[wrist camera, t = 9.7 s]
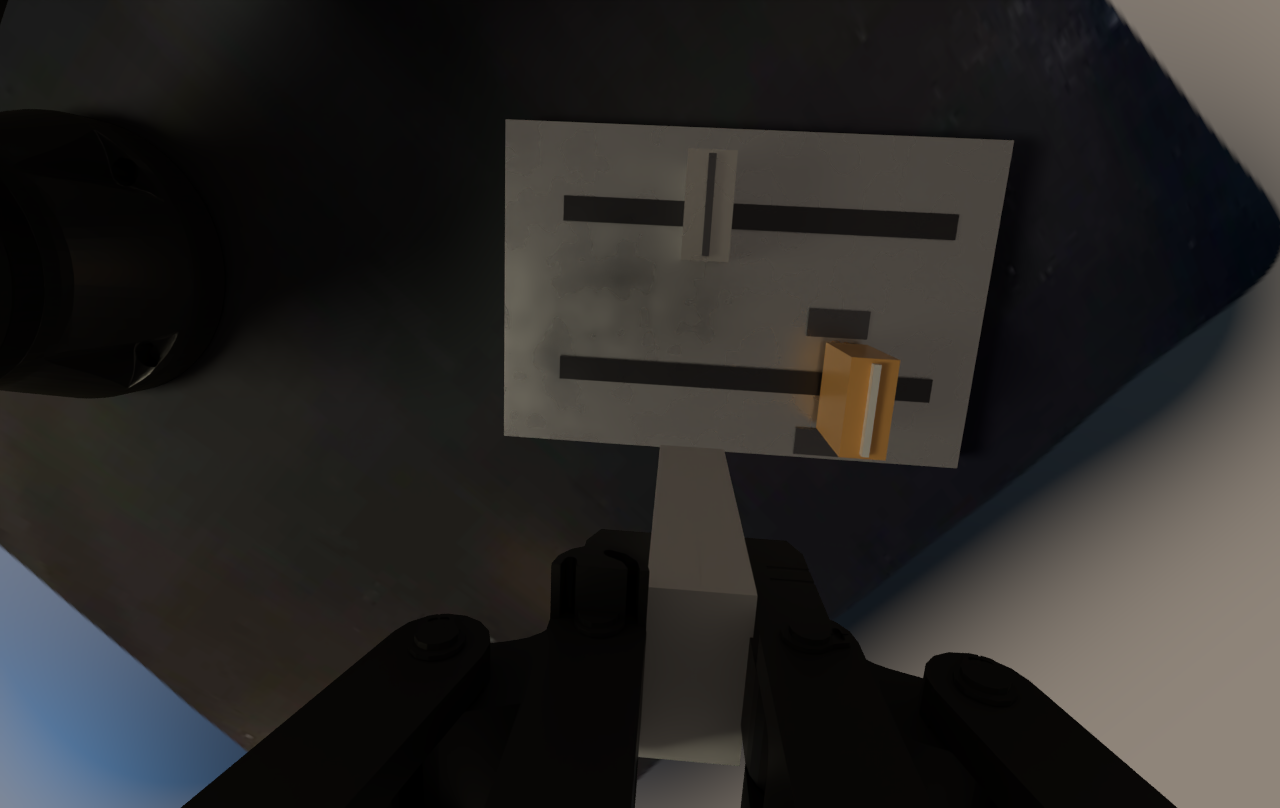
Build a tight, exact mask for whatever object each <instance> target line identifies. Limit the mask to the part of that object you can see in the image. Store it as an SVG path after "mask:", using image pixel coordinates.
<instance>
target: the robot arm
mask: <svg viewBox="0 0 1280 808" xmlns="http://www.w3.org/2000/svg"><path fill="white" fill-rule="evenodd" d="M7 2H8V0H0V24H1V21H2V18H3V14H4V11H5V8H6V5H7ZM224 292H225V272H224V262H223V256H222V250H221V246H220V242H219V238H218V235H217V232H216V229H215V226H214V224H213V222H212V219H211V217H210V215H209V213H208V211H207V208H206V206H205V205H204V203H203V201H202V199H201V198H200V196H199V194H198V193H197V191H196V190H195V188H194V187H193V185H192V184H191V183H190V181H189V180H188V179H187V178H186V176H185V175H184V174H183V173H182V172H181V170H180V169H179V168H178V167H177V166H176V165H175V164H174V163H173V162H172V161H171V160H170V159H169V158H168V157H166V156H165V155H164V154H163V153H162V152H161V151H159V150H158V149H157V148H156V147H154V146H153V145H151V144H150V143H149V142H147V141H146V140H144V139H142V138H141V137H139V136H137V135H136V134H134V133H132V132H130V131H128V130H126V129H123V128H121V127H118V126H116V125H113V124H110V123H107V122H103V121H99V120H95V119H91V118H86V117H82V116H78V115H74V114H69V113H65V112H60V111H53V110H41V109H22V110H11V111H3V112H0V390H1V391H11V392H22V393H32V394H42V395H52V396H63V397H73V398H106V397H114V396H119V395H123V394H128V393H132V392H136V391H140V390H145V389H149V388H152V387H156V386H159V385H161V384H164V383H166V382H168V381H170V380H172V379H174V378H175V377H177V376H179V375H180V374H182V373H183V372H184V371H186V370H187V369H188V368H189V367H190V366H191V365H192V364H194V362H195V361H196V360H197V359H198V358H199V357H200V356H201V354H202V353H203V352H204V350H205V349H206V347H207V346H208V344H209V343H210V341H211V339H212V337H213V335H214V333H215V330H216V328H217V326H218V322H219V319H220V316H221V312H222V308H223V301H224ZM808 570H809V569H808V567H807V564H806V562H805V559H804V557H803V554H801V553H800V552H799V551H798V550H797V549H795V548H794V547H793V546H792V545H790V544H789V543H788V542H787V541H780V540H767V539H753V538H744V535H743V530H742V526H741V522H740V517H739V513H738V509H737V504H736V500H735V496H734V491H733V487H732V483H731V478H730V474H729V470H728V465H727V461H726V457H725V452H724V449H713V448H698V447H684V446H669V445H660V453H659V463H658V473H657V483H656V493H655V503H654V513H653V523H652V533H645V532H632V531H619V530H605V529H601V530H600V531H598V532H597V533H596V534H594V535H593V536H592V537H590V538H589V539H588V540H587V541H586V544H585V546H584V547H579V548H574V549H571V550H569V551H566V552H564V553H562V554H560V555H559V556H558V557H557V558H556V559H555V560H554V561H553V563H552V566H551V613H550V621H549V624H548V627H547V630H545V631H543V632H542V633H539V634H537V635H534V636H531V637H528V638H524V639H519V640H513V641H506V642H497V643H490V636H489V630H488V629H487V628H486V627H485V626H484V625H483V624H482V623H481V622H480V621H478V620H475V619H473V618H470V617H468V616H463V615H454V614H440V615H438V614H436V615H430V616H427V617H424V618H420V619H417V620H414V621H411V622H409V623H407V624H405V625H404V626H402V627H400V628H399V629H397V630H395V631H394V632H392V633H391V634H390V635H389V636H388V637H386V638H385V639H384V640H383V641H382V642H380V643H379V644H378V645H377V646H376V647H374V648H373V649H372V650H371V651H369V652H368V653H367V654H366V655H365V656H363V657H362V658H361V659H360V660H359V661H357V662H356V663H355V664H354V665H353V666H351V667H350V668H349V669H348V670H347V671H345V672H344V673H343V674H342V675H341V676H339V677H338V678H337V679H336V680H334V681H333V682H332V683H331V684H330V685H328V686H327V687H326V688H325V689H324V690H322V691H321V692H320V693H319V694H318V695H316V696H315V697H314V698H313V699H312V700H310V701H309V702H308V703H307V704H305V705H304V706H303V707H302V708H301V709H299V710H298V711H297V712H296V713H295V714H293V715H292V716H291V717H290V718H289V719H287V720H286V721H285V722H284V723H283V724H281V725H280V726H279V727H278V728H276V729H275V730H274V731H273V732H272V733H270V734H269V735H268V736H267V737H266V738H264V739H263V740H262V741H261V742H260V743H258V744H257V745H256V746H255V747H254V748H252V749H251V750H250V751H249V752H248V753H246V754H245V755H244V756H243V757H241V758H240V759H239V760H238V761H237V762H235V763H234V764H233V765H232V766H231V767H229V768H228V769H227V770H226V771H225V772H223V773H222V774H221V775H220V776H219V777H217V778H216V779H215V780H214V781H213V782H211V783H210V784H209V785H208V786H206V787H205V788H204V789H203V790H202V791H200V792H199V793H198V794H197V795H196V796H194V797H193V798H192V799H191V800H190V801H188V802H187V803H186V804H185V805H183V806H182V807H181V808H635V797H636V785H637V768H638V757H647V758H658V759H670V760H680V761H692V762H702V763H713V764H724V765H734V766H735V765H736V766H739V765H740V756H741V747H742V740H743V747H744V755H745V763H746V764H745V773H744V782H743V792H742V801H741V808H1177V807H1176V806H1175V805H1173V804H1172V803H1171V802H1170V801H1169V800H1168V799H1166V798H1165V797H1164V796H1163V795H1162V794H1161V793H1160V792H1158V791H1157V790H1156V789H1155V788H1154V787H1153V786H1151V785H1150V784H1149V783H1148V782H1147V781H1146V780H1144V779H1143V778H1142V777H1141V776H1140V775H1139V774H1137V773H1136V772H1135V771H1134V770H1133V769H1132V768H1130V767H1129V766H1128V765H1127V764H1126V763H1125V762H1123V761H1122V760H1121V759H1120V758H1119V757H1118V756H1116V755H1115V754H1114V753H1113V752H1112V751H1110V750H1109V749H1108V748H1107V747H1106V746H1105V745H1104V744H1102V743H1101V742H1100V741H1099V740H1098V739H1097V738H1095V737H1094V736H1093V735H1092V734H1091V733H1090V732H1088V731H1087V730H1086V729H1085V728H1084V727H1083V726H1082V725H1080V724H1079V723H1078V722H1077V721H1076V720H1074V719H1073V718H1072V717H1071V716H1070V715H1069V714H1068V713H1066V712H1065V711H1064V710H1063V709H1062V708H1061V707H1059V706H1058V705H1057V704H1056V703H1055V702H1053V701H1052V700H1051V699H1050V698H1049V697H1048V696H1047V695H1045V694H1044V693H1043V692H1042V691H1041V690H1039V689H1038V688H1037V687H1036V686H1035V685H1034V684H1033V683H1031V682H1030V681H1029V680H1027V679H1026V678H1024V677H1023V676H1021V675H1020V674H1018V673H1017V672H1015V671H1014V670H1013V669H1011V668H1009V667H1006V666H1004V665H1002V664H1000V663H998V662H995V661H994V660H992V659H990V658H986V657H983V656H981V657H980V656H978V655H974V654H969V653H951V652H948V653H944V654H940V655H936V656H933V657H932V658H931V659H930V660H929V661H928V662H927V663H926V666H925V671H924V677H923V678H920V677H916V676H913V675H909V674H906V673H902V672H899V671H895V670H891V669H888V668H885V667H882V666H880V665H877V664H874V663H872V662H870V661H868V660H866V658H865V656H864V654H863V652H862V650H861V647H860V645H859V643H858V642H857V640H856V639H855V638H854V636H853V635H852V634H851V633H850V631H848V630H847V629H845V628H844V627H842V626H841V625H839V624H838V623H836V622H834V621H832V620H829V617H828V615H827V613H826V610H825V608H824V605H823V603H822V600H821V598H820V596H819V593H818V591H817V588H816V586H815V585H814V581H813V579H812V576H811V574H810V572H809V571H808Z"/></svg>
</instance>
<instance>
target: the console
mask: <svg viewBox="0 0 1280 808" xmlns="http://www.w3.org/2000/svg"><path fill="white" fill-rule="evenodd" d="M1013 145H1014V140H990V139H966V138H942V137H918V136H894V135H870V134H846V133H822V132H798V131H774V130H750V129H726V128H702V127H678V126H654V125H630V124H606V123H582V122H558V121H534V120H510V119H506V131H505V359H504V436H517V437H531V438H545V439H559V440H573V441H586V442H600V443H614V444H628V445H642V446H656V447H660V445H669V446H684V447H698V448H713V449H724V451H725V452H739V453H753V454H767V455H781V456H795V457H809V458H823V459H836V460H850V461H864V462H878V463H892V464H906V465H920V466H934V467H948V468H957V465H958V459H959V454H960V448H961V442H962V436H963V431H964V425H965V419H966V414H967V408H968V402H969V396H970V391H971V385H972V379H973V374H974V368H975V362H976V356H977V351H978V345H979V339H980V334H981V328H982V322H983V316H984V311H985V305H986V299H987V294H988V288H989V282H990V276H991V271H992V265H993V259H994V254H995V248H996V242H997V236H998V231H999V225H1000V219H1001V214H1002V208H1003V202H1004V196H1005V191H1006V185H1007V179H1008V174H1009V168H1010V162H1011V156H1012V151H1013ZM826 342H831V343H847V344H863V345H869V346H871V347H873V348H875V349H877V350H880V351H882V352H884V353H886V354H888V355H890V356H892V357H895V358H897V359H899V360H900V367H899V373H898V380H897V387H896V394H895V400H894V407H893V414H892V421H891V427H890V434H889V441H888V448H887V455H886V461H884V460H870V459H857V458H843V457H838V456H837V454H836V453H835V452H834V450H833V449H832V448H831V447H830V445H829V444H828V443H827V441H826V440H825V439H824V437H823V436H822V435H821V434H820V432H819V431H818V430H817V428H816V423H817V415H818V406H819V398H820V390H821V381H822V373H823V365H824V356H825V348H826Z"/></svg>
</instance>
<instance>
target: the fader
mask: <svg viewBox="0 0 1280 808" xmlns="http://www.w3.org/2000/svg"><path fill="white" fill-rule="evenodd" d="M899 367H900V360H899V359H897V358H895V357H892V356H890V355H888V354H886V353H884V352H882V351H880V350H877V349H875V348H873V347H871V346H869V345H863V344H847V343H831V342H826V348H825V356H824V365H823V373H822V381H821V390H820V398H819V406H818V415H817V423H816V428H817V430H818V431H819V432H820V434H821V435H822V436H823V437H824V439H825V440H826V441H827V443H828V444H829V445H830V447H831V448H832V449H833V450H834V452H835V453H836V454H837V456H838V457H843V458H857V459H870V460H884V461H886V455H887V448H888V441H889V434H890V427H891V421H892V414H893V407H894V400H895V394H896V387H897V380H898V373H899Z"/></svg>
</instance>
